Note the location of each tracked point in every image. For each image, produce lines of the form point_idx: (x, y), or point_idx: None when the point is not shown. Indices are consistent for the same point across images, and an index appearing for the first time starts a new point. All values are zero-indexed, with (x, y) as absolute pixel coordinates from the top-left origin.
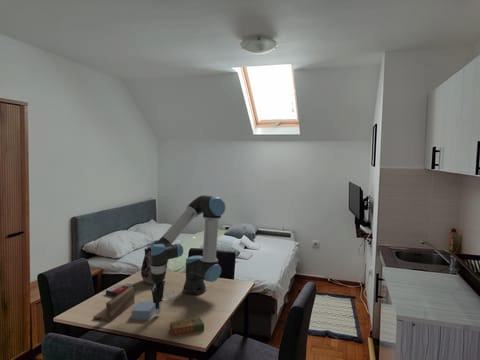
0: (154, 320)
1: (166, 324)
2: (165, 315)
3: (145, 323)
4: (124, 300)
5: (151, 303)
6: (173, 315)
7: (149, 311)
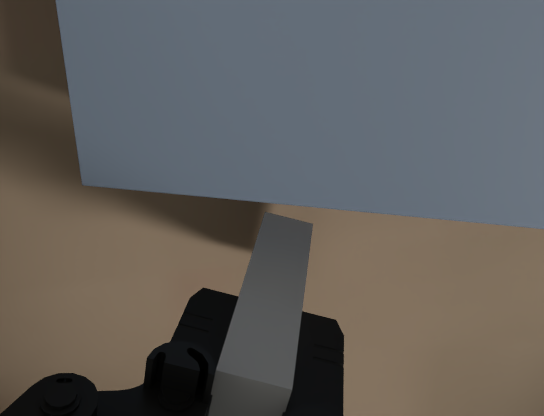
0: (131, 201)
1: (55, 354)
2: None
3: (13, 83)
4: None
5: (539, 137)
6: None
7: (84, 176)
